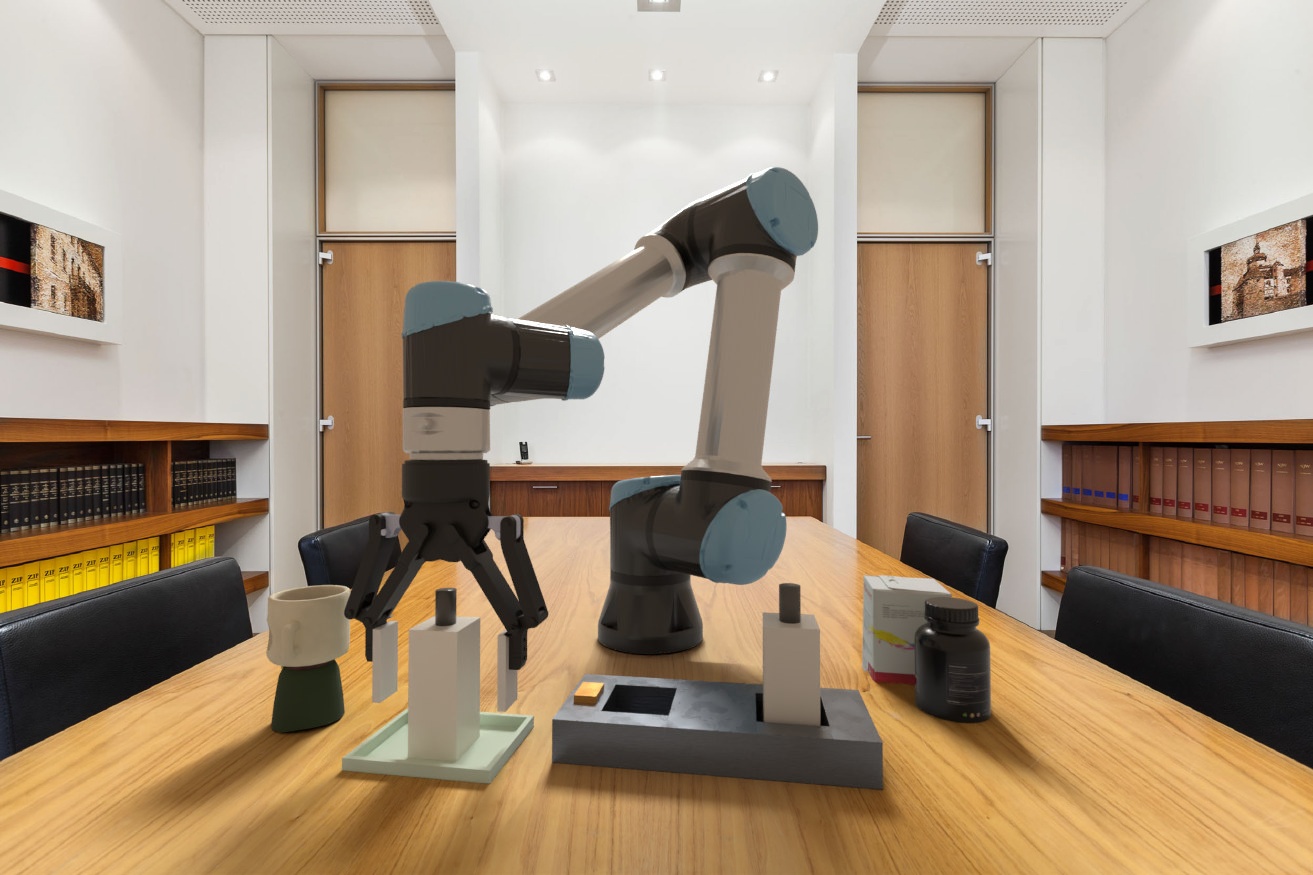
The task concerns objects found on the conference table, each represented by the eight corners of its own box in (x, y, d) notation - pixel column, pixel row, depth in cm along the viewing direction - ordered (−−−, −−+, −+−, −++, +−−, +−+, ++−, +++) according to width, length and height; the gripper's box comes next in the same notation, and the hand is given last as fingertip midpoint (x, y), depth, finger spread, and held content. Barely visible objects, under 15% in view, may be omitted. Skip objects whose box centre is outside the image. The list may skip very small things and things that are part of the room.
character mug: (293, 703, 64) (295, 581, 64) (364, 699, 65) (366, 579, 65) (240, 755, 53) (241, 608, 53) (326, 749, 54) (327, 605, 55)
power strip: (584, 724, 59) (584, 667, 59) (858, 744, 55) (858, 683, 55) (552, 780, 49) (552, 711, 49) (883, 809, 45) (882, 734, 45)
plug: (434, 732, 56) (435, 583, 57) (479, 736, 56) (480, 585, 56) (407, 757, 52) (408, 595, 52) (456, 761, 51) (457, 596, 51)
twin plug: (762, 735, 54) (762, 578, 54) (814, 739, 53) (813, 580, 53) (764, 761, 49) (763, 590, 49) (820, 765, 49) (819, 592, 49)
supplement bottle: (902, 709, 63) (901, 594, 63) (964, 706, 63) (963, 592, 63) (938, 741, 56) (937, 611, 56) (1007, 738, 56) (1006, 610, 57)
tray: (409, 721, 60) (409, 706, 60) (533, 731, 58) (533, 715, 58) (341, 776, 50) (342, 758, 50) (489, 789, 48) (489, 770, 48)
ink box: (955, 701, 65) (954, 591, 65) (871, 695, 66) (871, 587, 67) (934, 672, 73) (934, 575, 73) (861, 667, 75) (860, 572, 75)
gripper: (299, 457, 52) (296, 710, 52) (558, 458, 49) (558, 729, 48) (355, 456, 60) (353, 677, 59) (583, 456, 56) (583, 691, 56)
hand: (445, 700), depth 54 cm, fingers open, 11 cm apart
